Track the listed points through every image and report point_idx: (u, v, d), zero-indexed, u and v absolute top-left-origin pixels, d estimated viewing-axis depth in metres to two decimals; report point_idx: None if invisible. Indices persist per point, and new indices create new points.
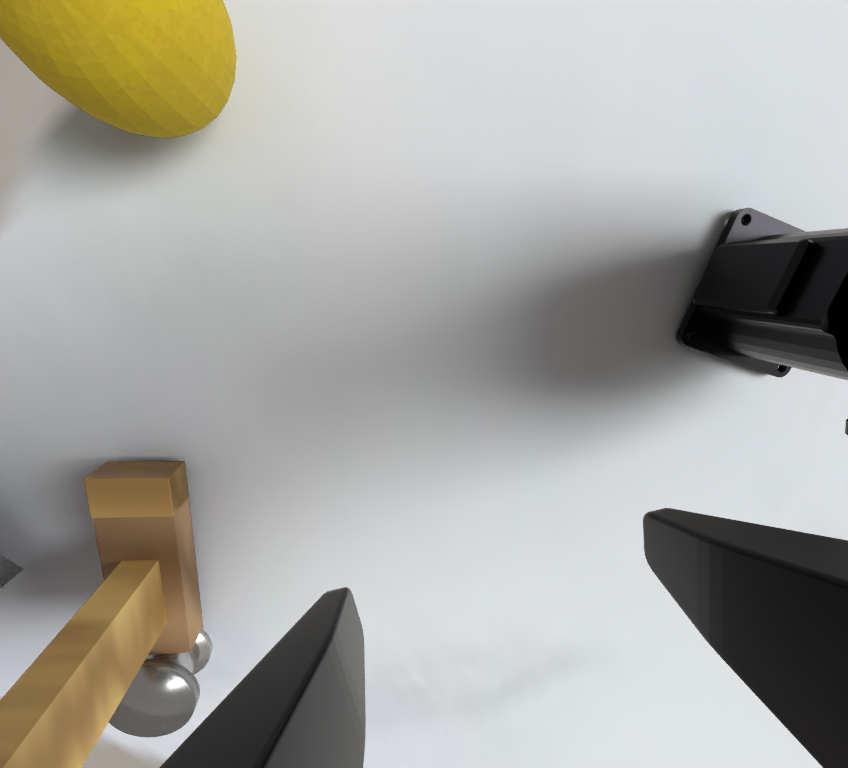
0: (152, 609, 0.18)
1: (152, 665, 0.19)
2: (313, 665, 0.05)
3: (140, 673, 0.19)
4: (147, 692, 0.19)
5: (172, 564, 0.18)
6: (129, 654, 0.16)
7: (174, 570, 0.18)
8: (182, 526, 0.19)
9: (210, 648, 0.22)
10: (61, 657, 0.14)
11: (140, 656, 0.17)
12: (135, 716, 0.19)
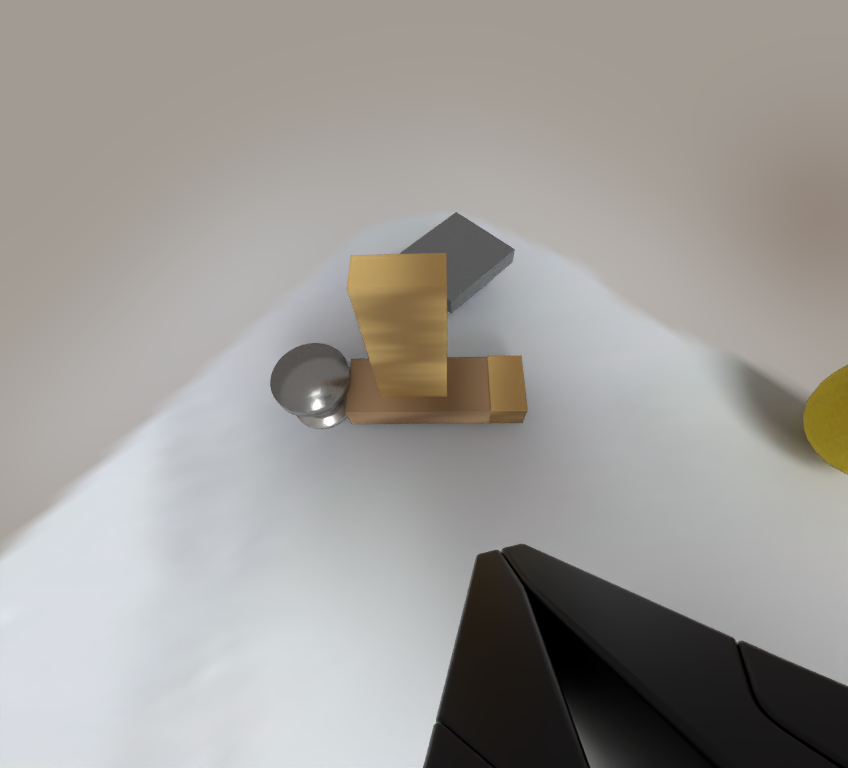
0: (411, 388, 0.21)
1: (348, 382, 0.21)
2: (528, 610, 0.05)
3: (345, 373, 0.21)
4: (323, 376, 0.21)
5: (441, 406, 0.21)
6: (400, 369, 0.19)
7: (435, 406, 0.21)
8: (470, 416, 0.21)
9: (320, 427, 0.23)
10: None
11: (383, 376, 0.20)
12: (299, 365, 0.21)
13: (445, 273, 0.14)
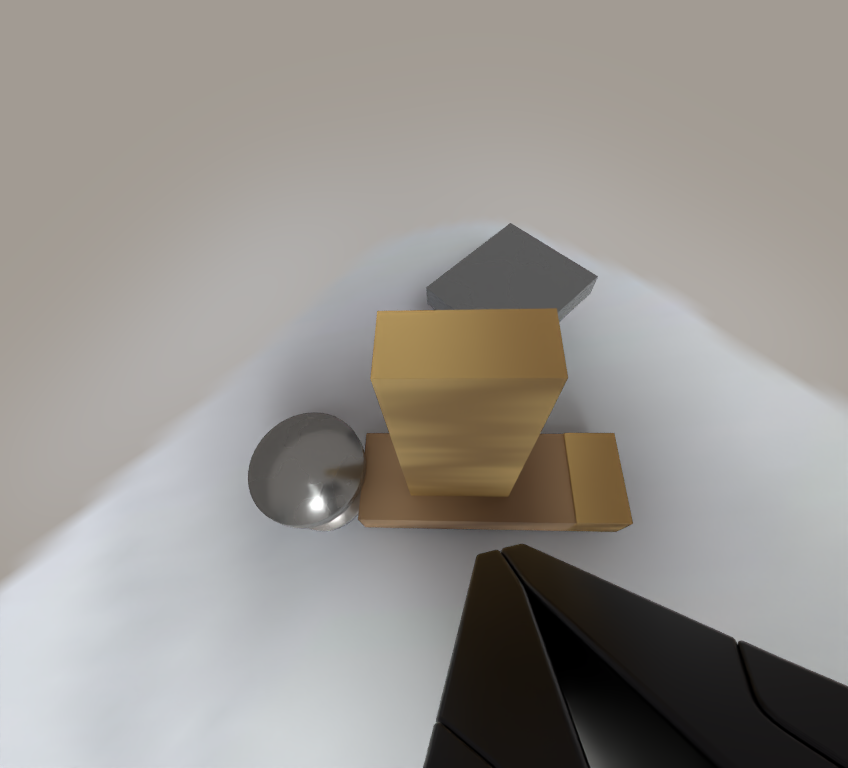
0: (457, 489, 0.14)
1: (362, 476, 0.14)
2: (528, 610, 0.05)
3: (359, 462, 0.14)
4: (326, 466, 0.14)
5: (500, 512, 0.14)
6: (446, 472, 0.12)
7: (491, 513, 0.14)
8: (542, 525, 0.15)
9: (321, 530, 0.16)
10: None
11: (418, 478, 0.13)
12: (291, 447, 0.15)
13: (561, 351, 0.07)
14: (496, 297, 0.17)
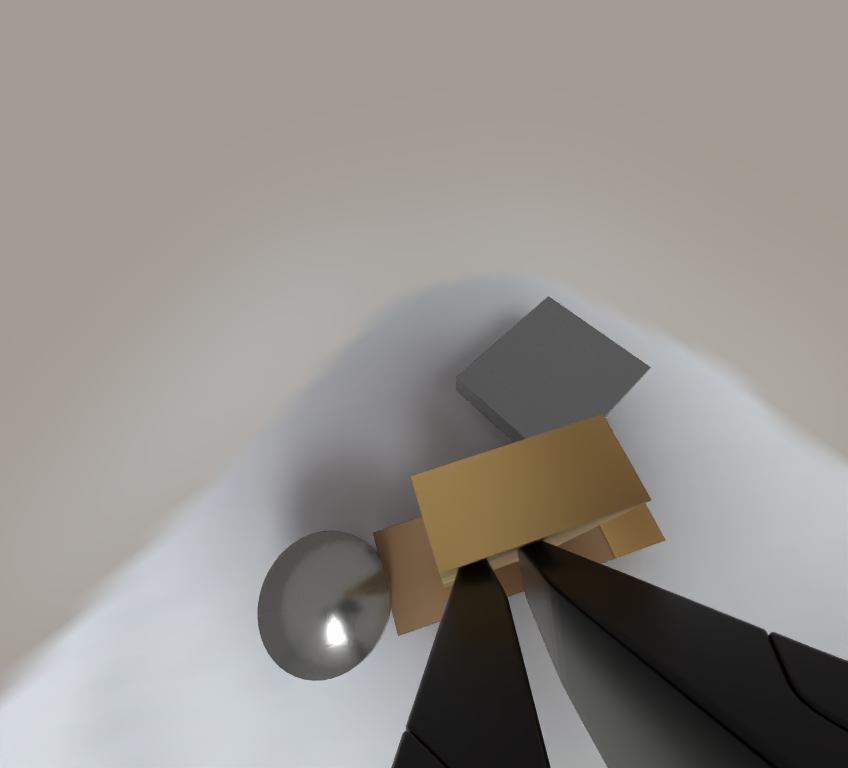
0: (494, 569, 0.13)
1: (388, 613, 0.13)
2: (506, 615, 0.05)
3: (384, 597, 0.12)
4: (346, 602, 0.12)
5: None
6: None
7: None
8: None
9: None
10: None
11: None
12: (305, 576, 0.13)
13: (630, 467, 0.07)
14: (536, 392, 0.15)
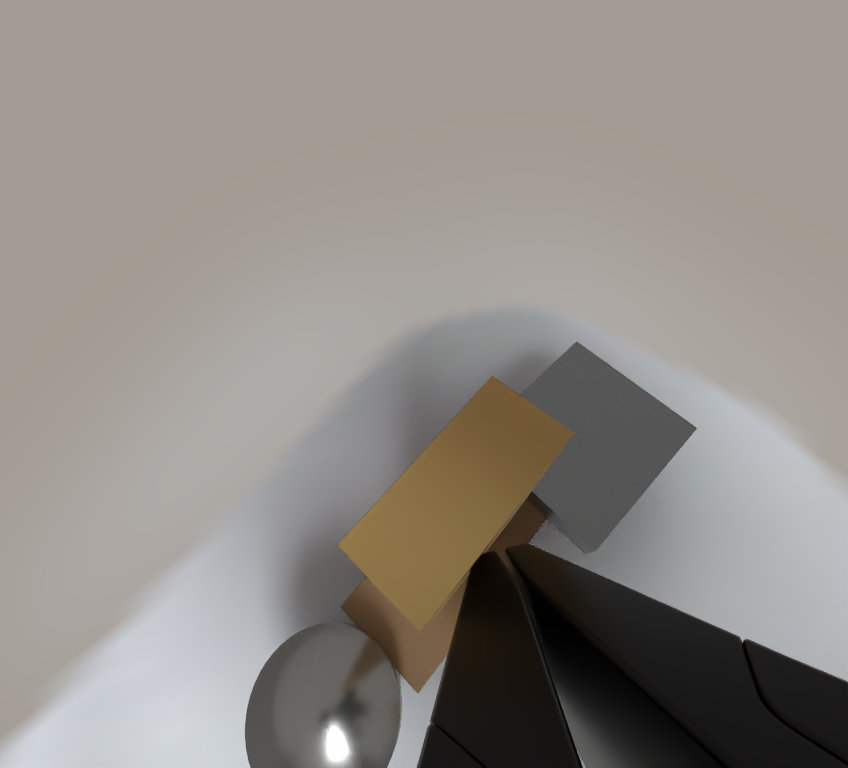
0: None
1: (399, 729, 0.11)
2: (524, 611, 0.05)
3: (395, 711, 0.11)
4: (350, 717, 0.11)
5: (513, 545, 0.13)
6: None
7: None
8: None
9: None
10: None
11: None
12: (302, 682, 0.11)
13: (541, 412, 0.06)
14: (567, 457, 0.13)
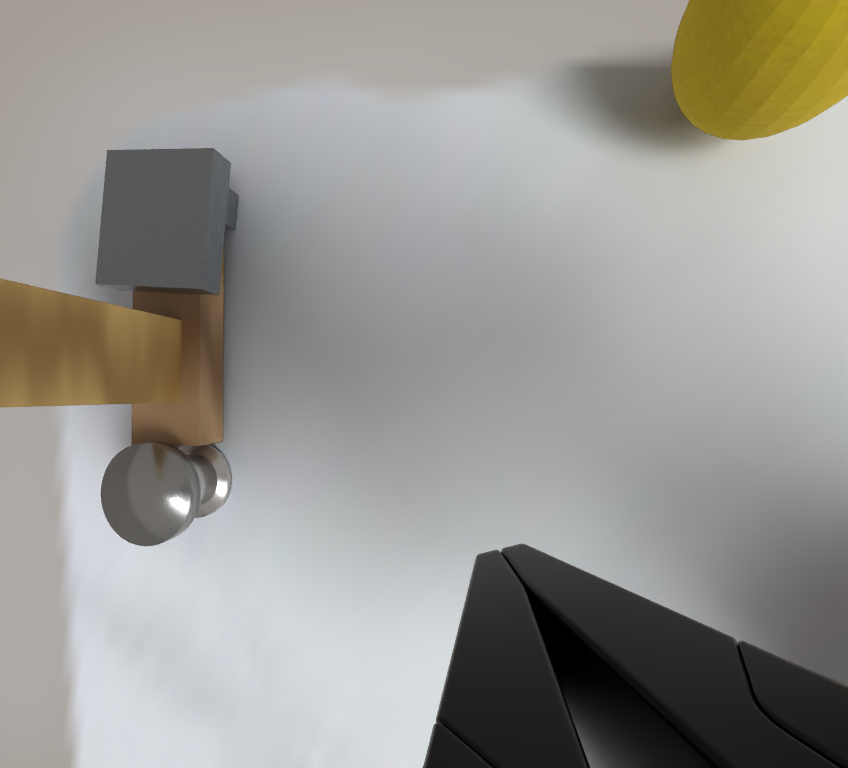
0: (163, 360, 0.16)
1: (187, 467, 0.16)
2: (528, 610, 0.05)
3: (175, 462, 0.16)
4: (157, 484, 0.16)
5: (193, 326, 0.17)
6: (120, 367, 0.14)
7: (194, 334, 0.17)
8: None
9: (217, 509, 0.19)
10: None
11: (136, 391, 0.15)
12: (124, 492, 0.16)
13: None
14: (153, 244, 0.16)
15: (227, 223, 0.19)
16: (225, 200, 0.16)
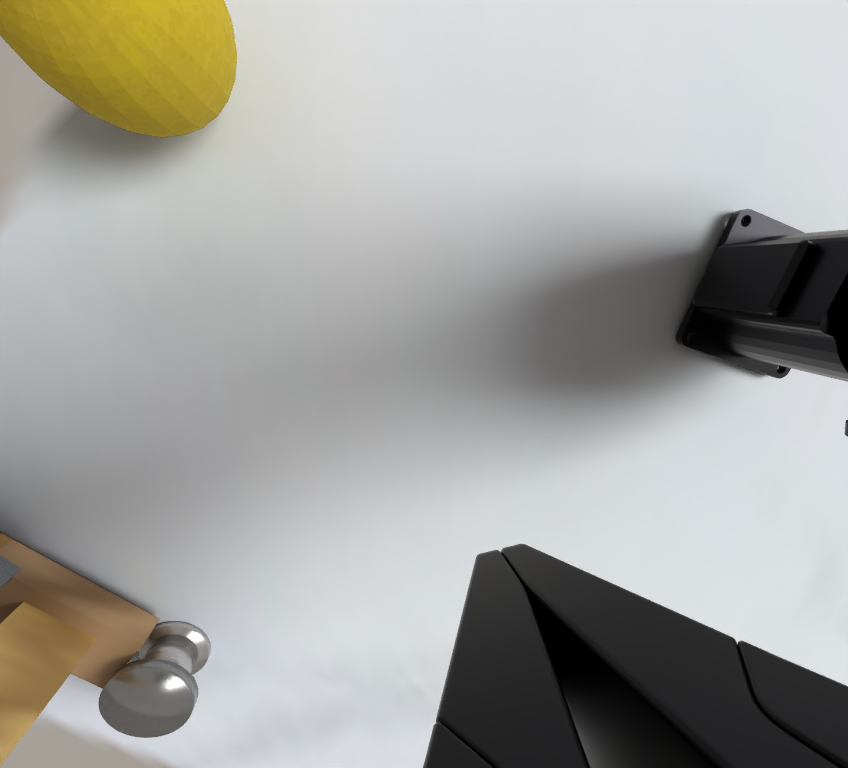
0: (46, 639, 0.18)
1: (150, 665, 0.19)
2: (528, 610, 0.05)
3: (138, 673, 0.18)
4: (145, 692, 0.19)
5: (37, 596, 0.18)
6: (18, 685, 0.16)
7: (44, 599, 0.18)
8: (19, 564, 0.18)
9: (209, 648, 0.22)
10: None
11: (52, 679, 0.17)
12: (133, 716, 0.19)
13: None
14: None
15: None
16: None
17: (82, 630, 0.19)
